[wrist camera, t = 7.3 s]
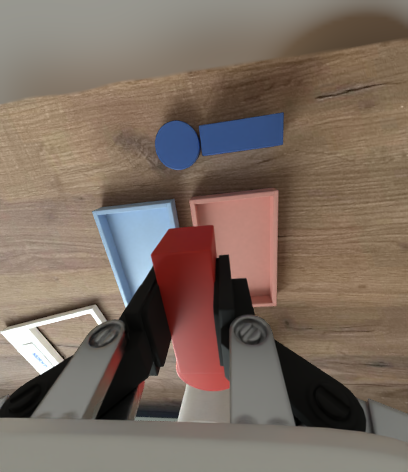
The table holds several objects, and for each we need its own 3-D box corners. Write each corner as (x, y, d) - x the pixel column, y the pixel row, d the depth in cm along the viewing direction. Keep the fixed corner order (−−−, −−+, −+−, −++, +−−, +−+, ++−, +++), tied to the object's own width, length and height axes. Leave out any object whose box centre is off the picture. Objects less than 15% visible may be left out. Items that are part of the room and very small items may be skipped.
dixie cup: (231, 380, 33) (235, 466, 24) (183, 374, 34) (170, 456, 24) (239, 347, 30) (248, 431, 21) (187, 340, 30) (172, 419, 21)
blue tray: (174, 198, 22) (170, 202, 20) (193, 300, 27) (191, 309, 26) (101, 207, 23) (91, 211, 21) (133, 303, 28) (127, 312, 27)
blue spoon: (274, 106, 18) (284, 97, 15) (273, 157, 20) (282, 157, 17) (154, 126, 19) (143, 120, 17) (163, 171, 21) (154, 173, 18)
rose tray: (273, 187, 21) (278, 190, 19) (272, 296, 26) (276, 306, 24) (191, 196, 22) (189, 200, 20) (207, 299, 27) (206, 309, 25)
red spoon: (150, 229, 10) (125, 256, 8) (233, 222, 10) (238, 248, 7) (184, 373, 15) (176, 424, 12) (243, 373, 14) (248, 426, 11)
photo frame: (-2, 333, 31) (91, 309, 28) (5, 327, 32) (95, 304, 29) (52, 388, 36) (136, 374, 33) (57, 382, 37) (139, 368, 34)
